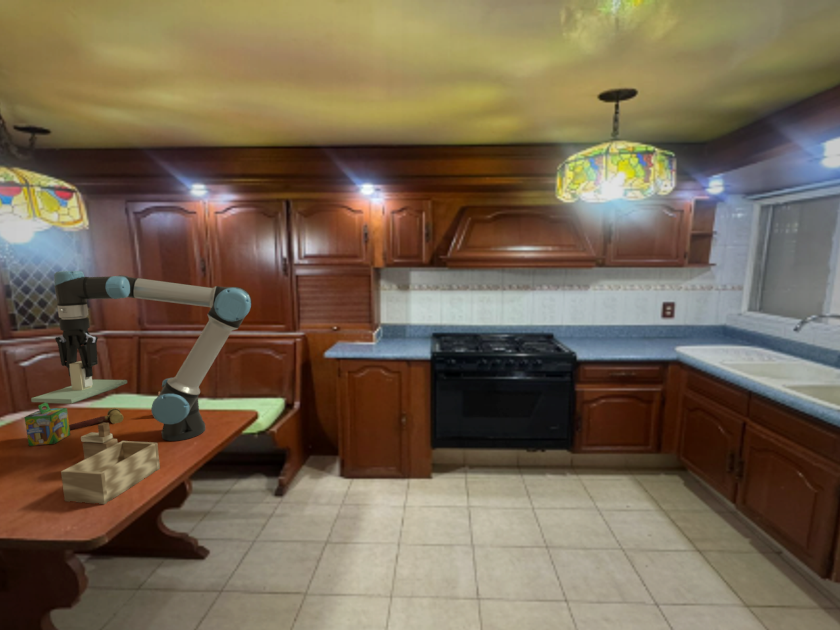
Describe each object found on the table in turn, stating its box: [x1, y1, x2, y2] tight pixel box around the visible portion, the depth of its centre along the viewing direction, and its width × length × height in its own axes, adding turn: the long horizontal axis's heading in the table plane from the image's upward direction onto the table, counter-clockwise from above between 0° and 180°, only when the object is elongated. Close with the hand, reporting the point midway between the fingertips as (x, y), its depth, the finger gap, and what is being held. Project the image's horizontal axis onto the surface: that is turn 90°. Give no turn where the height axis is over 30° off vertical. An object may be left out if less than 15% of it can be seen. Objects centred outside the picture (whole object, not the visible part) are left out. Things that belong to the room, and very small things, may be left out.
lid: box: [30, 360, 128, 405], centre depth 135 cm, size 21×14×11 cm, turn 174°
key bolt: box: [80, 422, 114, 443], centre depth 130 cm, size 4×8×6 cm, turn 82°
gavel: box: [69, 407, 124, 432], centre depth 170 cm, size 21×5×10 cm
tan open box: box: [60, 438, 161, 505], centre depth 123 cm, size 20×22×10 cm
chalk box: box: [23, 402, 71, 447], centre depth 154 cm, size 9×9×15 cm
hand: (82, 385), depth 135 cm, fingers closed on lid, 4 cm apart
